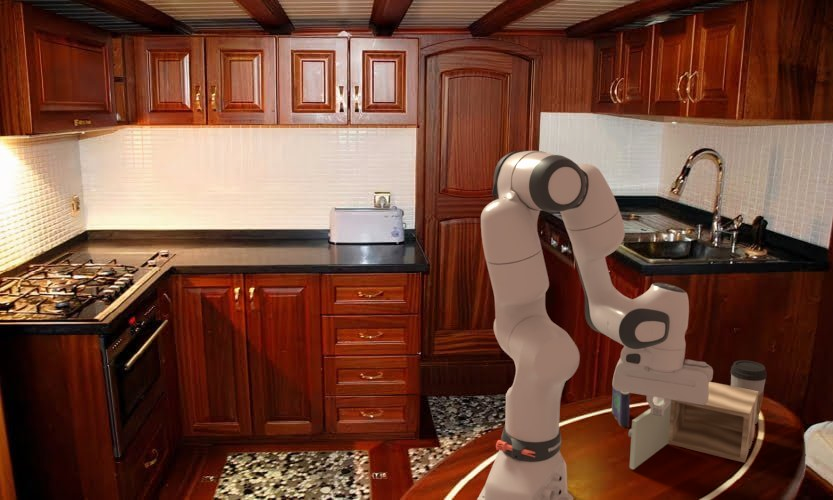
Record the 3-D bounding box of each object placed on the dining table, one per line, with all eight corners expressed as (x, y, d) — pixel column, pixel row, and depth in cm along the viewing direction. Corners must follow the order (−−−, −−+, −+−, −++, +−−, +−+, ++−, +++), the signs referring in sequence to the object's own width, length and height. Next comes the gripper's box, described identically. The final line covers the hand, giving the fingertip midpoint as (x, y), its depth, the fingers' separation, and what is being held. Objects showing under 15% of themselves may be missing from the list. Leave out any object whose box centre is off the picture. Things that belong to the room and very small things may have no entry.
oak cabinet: (744, 462, 160) (749, 413, 158) (667, 443, 169) (670, 397, 167) (754, 437, 172) (758, 391, 169) (681, 420, 181) (684, 376, 178)
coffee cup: (759, 431, 175) (765, 374, 171) (723, 423, 179) (728, 368, 176) (763, 418, 181) (769, 363, 178) (728, 411, 186) (733, 357, 182)
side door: (624, 465, 159) (627, 418, 156) (659, 440, 170) (662, 395, 168) (633, 469, 157) (636, 421, 155) (668, 443, 169) (671, 398, 166)
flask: (610, 411, 187) (612, 373, 184) (621, 411, 187) (623, 373, 184) (620, 427, 178) (622, 388, 175) (632, 427, 178) (634, 387, 175)
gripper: (714, 358, 154) (707, 417, 157) (617, 344, 161) (613, 400, 164) (713, 368, 148) (707, 429, 151) (613, 353, 156) (609, 411, 159)
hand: (657, 414), depth 158 cm, fingers closed
